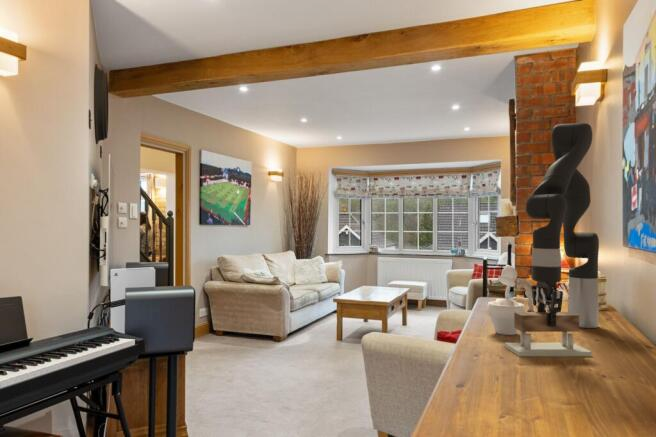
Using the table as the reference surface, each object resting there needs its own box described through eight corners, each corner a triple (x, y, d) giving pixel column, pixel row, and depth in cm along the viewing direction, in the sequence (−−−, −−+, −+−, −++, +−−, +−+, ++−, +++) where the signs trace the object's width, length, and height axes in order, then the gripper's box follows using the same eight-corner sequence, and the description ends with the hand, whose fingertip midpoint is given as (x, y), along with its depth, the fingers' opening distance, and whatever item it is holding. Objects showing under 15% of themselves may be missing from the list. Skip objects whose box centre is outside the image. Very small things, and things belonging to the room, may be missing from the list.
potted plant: (496, 327, 163) (496, 256, 163) (530, 333, 154) (530, 257, 155) (479, 333, 154) (479, 257, 154) (514, 339, 145) (514, 259, 146)
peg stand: (504, 346, 137) (504, 328, 137) (571, 346, 137) (571, 329, 137) (519, 356, 127) (519, 337, 127) (591, 356, 127) (591, 337, 127)
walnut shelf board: (569, 327, 135) (569, 311, 135) (579, 331, 130) (579, 315, 130) (514, 327, 135) (514, 312, 135) (522, 331, 129) (522, 315, 129)
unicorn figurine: (513, 308, 202) (513, 277, 202) (562, 313, 190) (562, 280, 190) (507, 310, 196) (507, 278, 197) (558, 316, 184) (557, 282, 185)
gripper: (573, 266, 125) (573, 330, 125) (547, 262, 140) (547, 319, 139) (545, 266, 125) (545, 330, 125) (522, 262, 140) (522, 319, 139)
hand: (546, 324), depth 132 cm, fingers closed on walnut shelf board, 5 cm apart
